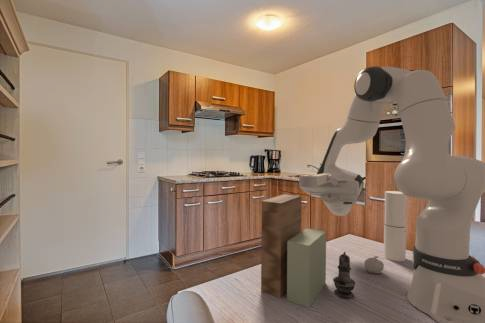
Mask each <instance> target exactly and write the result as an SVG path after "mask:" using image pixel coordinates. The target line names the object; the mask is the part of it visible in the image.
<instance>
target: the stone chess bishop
mask: <svg viewBox="0 0 485 323" xmlns="http://www.w3.org/2000/svg"><path fill="white" fill-rule="evenodd" d="M346 253H347V252H346V251H344V252H343V254H340V255H339V257H338V265H337V268H338V274H337V276H335V277H333V279H332V281H333V284H334V286H335V288H336V289H334V291H333V293H334V296H336V297H338V298H340V299H344V300H351V299H354V297H355V294H354V292H353V290H354V289H355V286H356V280H354V279H352V278H351V271H352V268H351V259H350V258H351V257H350V256H349V255H347V254H346Z"/></svg>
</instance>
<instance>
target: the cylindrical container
mask: <svg viewBox="0 0 485 323" xmlns="http://www.w3.org/2000/svg"><path fill="white" fill-rule="evenodd" d="M407 199H408V196H406V195H404V194H403V193H402V192H401V191H398V190H385V191H384V223H383V225H384V228H383V229H384V230H383V257H384V258H385V259H387V260H390V261H394V262H405V261H406V253H407V252H406V251H407V250H406V248H407V246H406V245H407V208H408V207H407V204H408V203H407V201H408V200H407Z"/></svg>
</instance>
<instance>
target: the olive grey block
mask: <svg viewBox="0 0 485 323" xmlns="http://www.w3.org/2000/svg"><path fill="white" fill-rule="evenodd" d="M326 266H327V231H325V230H320V229H314V228H309V227H306V228H305V229H303V230H301V232H300V233H299V234H297V235H296V236H294V237H293V238H291V239H290V240H288V241H287V291H286V301H287V302H288V301H289V302H291V303H295V304H297V305H300V306H303V307H306V308H310V306H311V305H312V303H313V302H314V301H315V299H316V298H317V296H318V295H319V293H320V292H321V291H322V290H323V288H324V286H325V285H326V281H327V278H326V276H327V269H326V268H327V267H326Z"/></svg>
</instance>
